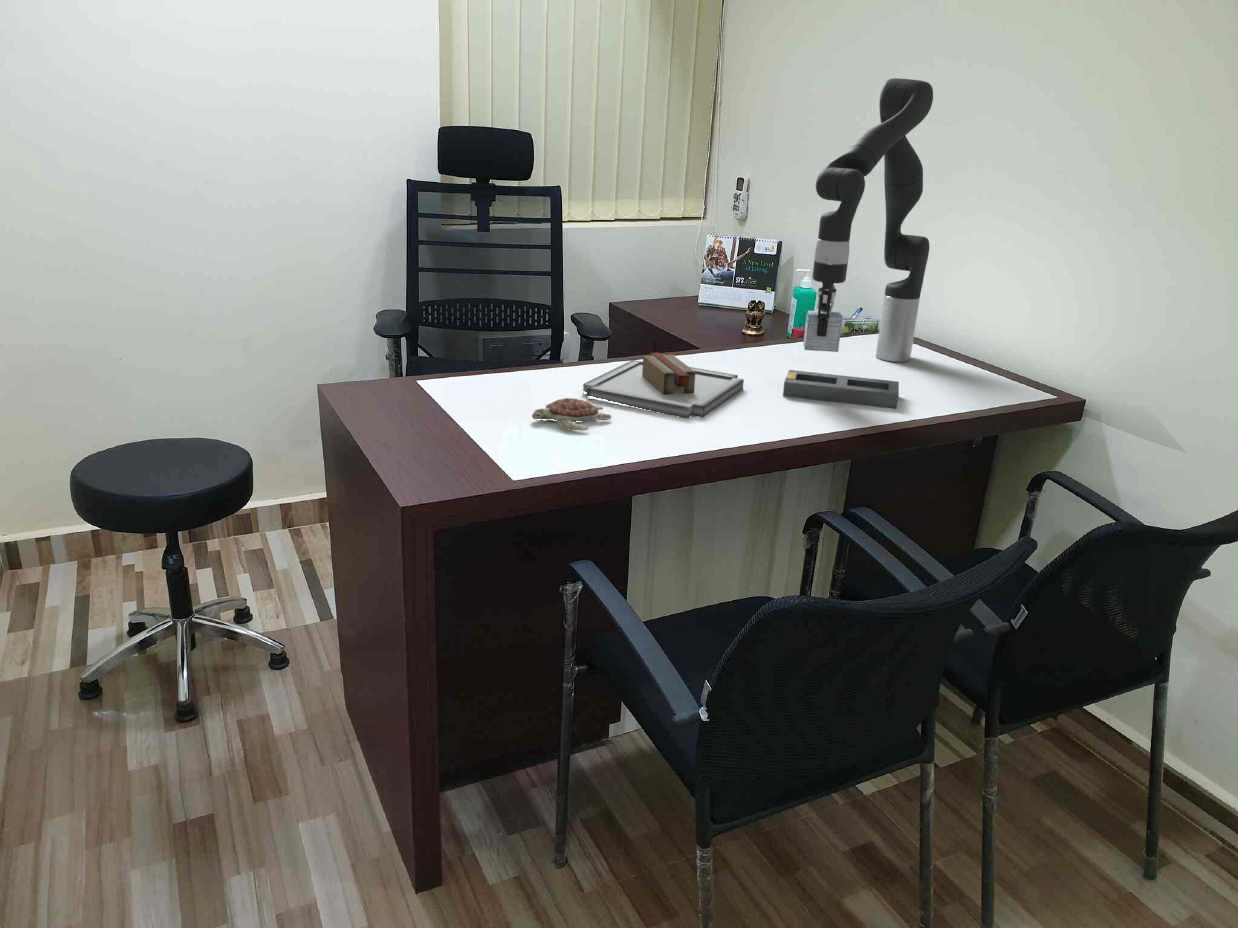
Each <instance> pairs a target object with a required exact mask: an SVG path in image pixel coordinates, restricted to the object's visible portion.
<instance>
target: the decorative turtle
mask: <svg viewBox="0 0 1238 928" xmlns="http://www.w3.org/2000/svg"><path fill="white" fill-rule="evenodd" d="M603 409H604V407H603V406H600V405H593V404H591V403H590V402H587V401H586V400H583V399H579V398H573V397H570V398H568V397H565V398H562V399H561V398H560V399H556V400H554V401H553V402H550V403H548V404H545V408H538V409H535V410H534V411H533V413H532V416H531V417H532V419H533V420H534V419H554V420H557V422H556V423H557V424H558V425H559V426H560V427H562V428H564V429H565V428H566V430H568V429H569V430H568V431H572V430H581V431H586V430H589V429H590V428H589V426H588V425H585V424H580V423H573V422H576V421H584V422H586V421H585V420H587V421H589V420H590V419H594V420H597V421H607V420H611V419H612V415H611V414H608V413H601V412H599V410H603ZM588 419H589V420H588Z"/></svg>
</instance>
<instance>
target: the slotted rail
mask: <svg viewBox="0 0 1238 928" xmlns="http://www.w3.org/2000/svg"><path fill="white" fill-rule="evenodd" d="M899 385H900V384H899V381H897V380H887V379H878V378H868V377H860V376H859V377H858V376H851V375H850V376H849V375H841V374H832V373H821V372H813V371H811V372H810V371H805V370H804V371H802V370H795V369H789V370H788V372H787V374H786V377H785V379H784V383H783V390H782V397H788V398H796V399H806V400H814V401H824V402H833V403H840V404H849V405H858V406H866V407H867V406H868V407H876V408H884V409H892V410H897V407H898V402H899V401H898V400H899V395H900V393H899V392H900V387H899Z"/></svg>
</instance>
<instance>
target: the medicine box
mask: <svg viewBox="0 0 1238 928" xmlns="http://www.w3.org/2000/svg"><path fill="white" fill-rule="evenodd" d="M821 314H827V312H825V311H821ZM817 315H818V310H808V311H806V318H805V327H804V335H803V350H804V351H813V352H815V351H816V352H832V353H838V352H839V349H840V341H841V334H842V326H843V318H844V317H843V315H842V313H841V312H840V311H838V312H837V311H831V312H830V314H829V317H830V318H829V321H828V326H827V334H826V336H825V337H822V336H817V327H818V318H817Z"/></svg>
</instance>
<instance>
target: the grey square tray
mask: <svg viewBox="0 0 1238 928" xmlns="http://www.w3.org/2000/svg"><path fill="white" fill-rule="evenodd" d="M744 382H745V379H743V378H739V377H738V374H732V373H727V372H721V371H717V370H710V369H704V368H698V367H692V366H688V365H687V364H686V363H684V362H683V361H681V360H680V359H679V358H678V357H676V356H675V355H674V354H662V353H660V352H650V353H649V355H643V356H642V360H641V361H640V360H633V359H632V360H630V361H627V362H626V363H623V364H621V365H619V366H617V367H615V368H613V369H611V370H609V371H607V372H605V373H603V374H601V375H599V376H597V377H595V378H592V379H590V380H588V381H587V382H585V383H583V385H582V386H583V388H582V390H583V391H585V392H587V395H588V396H593V397H596V398H601V399H606V400H608V401H613V402H618V403H621V404H626V405H629V406H634V407H638V408H642V409H646V410H651V411H654V412H653V413H656V412H660V413H659V414H661V413H664V414H663V415H666V414H667V416H671V415H673V417H677V416H679V417H678V418H681V419H690V418H691V417H692V415H693V417H698V418H702V419H703V418H704V417H706V416H707V415H708V414H710V413H712V412H713V411H714V410H716V409H717V408H719V407H720V406H722V405H723V404H725V402H727V401H729V399H731V398H732V397H734V396H735V395H738V393H740V392H741V391H743V390H744ZM583 391H582V392H583ZM587 395H586V396H587ZM646 410H645V411H646ZM651 411H650V412H651ZM690 416H691V417H690Z"/></svg>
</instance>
